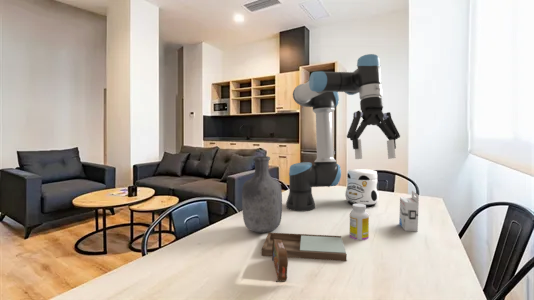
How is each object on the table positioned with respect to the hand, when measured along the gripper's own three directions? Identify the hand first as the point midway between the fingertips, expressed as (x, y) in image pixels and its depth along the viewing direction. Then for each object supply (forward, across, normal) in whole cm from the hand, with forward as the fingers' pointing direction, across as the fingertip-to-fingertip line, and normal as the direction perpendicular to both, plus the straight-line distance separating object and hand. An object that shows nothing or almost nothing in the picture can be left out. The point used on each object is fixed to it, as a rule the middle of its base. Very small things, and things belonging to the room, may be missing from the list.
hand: (375, 158), depth 94 cm
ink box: (+28, +25, +14) cm, 40 cm away
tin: (+33, -38, -2) cm, 50 cm away
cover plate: (+29, -20, +5) cm, 36 cm away
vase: (+27, -33, +30) cm, 52 cm away
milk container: (+21, +30, +51) cm, 63 cm away
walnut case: (+30, -25, +8) cm, 40 cm away
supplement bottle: (+29, -2, +11) cm, 31 cm away
